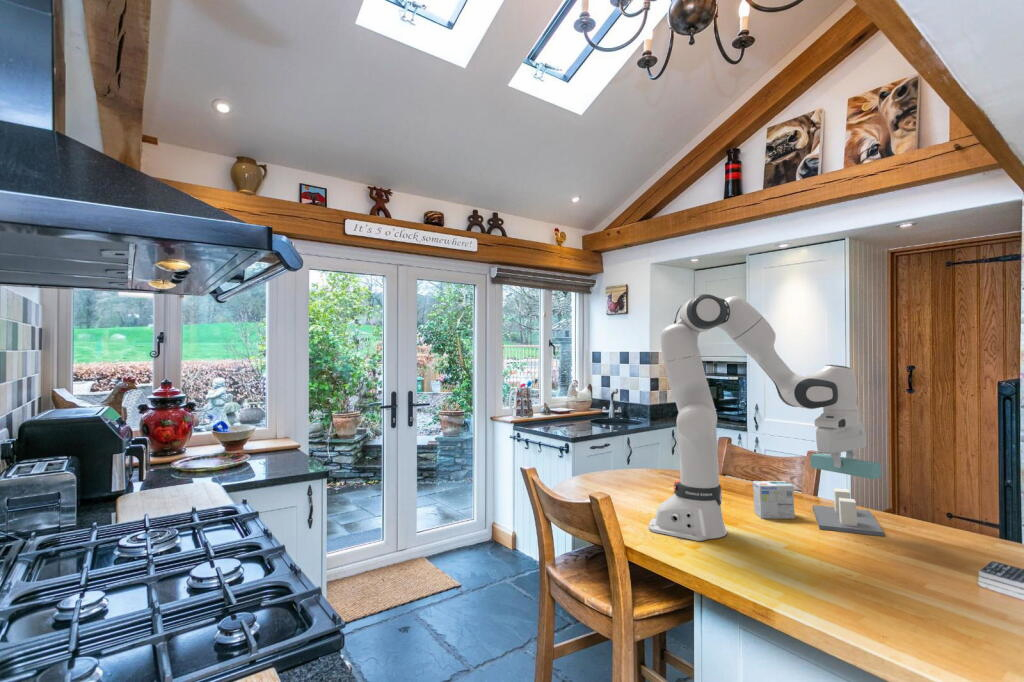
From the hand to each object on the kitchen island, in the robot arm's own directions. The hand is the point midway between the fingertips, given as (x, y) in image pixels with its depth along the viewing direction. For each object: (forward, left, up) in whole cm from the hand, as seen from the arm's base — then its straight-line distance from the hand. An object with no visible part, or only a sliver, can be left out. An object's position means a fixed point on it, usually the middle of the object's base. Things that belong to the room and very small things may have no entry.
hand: (843, 465), depth 149 cm
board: (+1, +11, -20) cm, 22 cm away
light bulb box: (-19, +9, -20) cm, 29 cm away
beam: (0, 0, -2) cm, 2 cm away
